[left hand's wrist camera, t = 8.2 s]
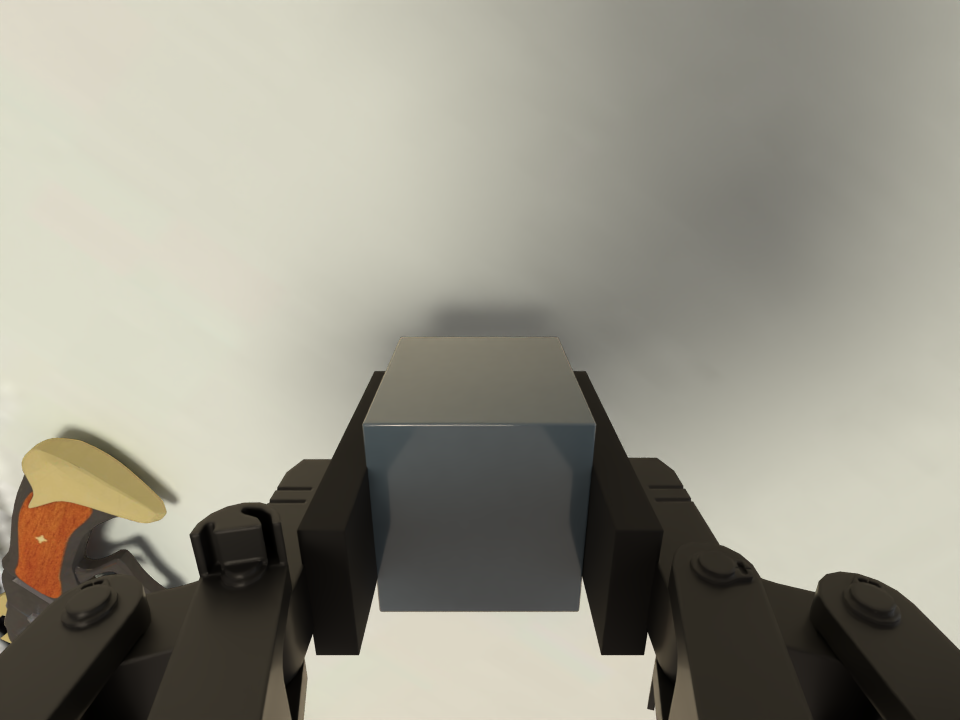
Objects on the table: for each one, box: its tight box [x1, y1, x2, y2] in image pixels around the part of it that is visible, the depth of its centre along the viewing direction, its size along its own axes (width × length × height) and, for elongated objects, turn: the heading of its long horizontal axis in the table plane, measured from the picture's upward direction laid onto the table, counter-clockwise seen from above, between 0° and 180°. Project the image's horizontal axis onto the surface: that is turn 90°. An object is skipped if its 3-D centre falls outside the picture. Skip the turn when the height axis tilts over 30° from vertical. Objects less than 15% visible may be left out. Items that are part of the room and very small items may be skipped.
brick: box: [362, 337, 596, 612], centre depth 13 cm, size 5×4×5 cm
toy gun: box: [0, 438, 166, 643], centre depth 24 cm, size 3×19×10 cm
